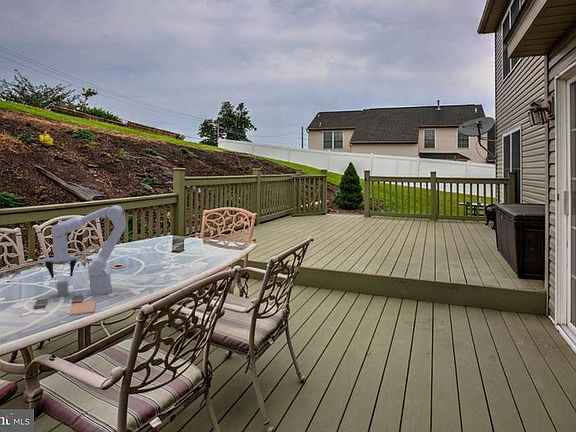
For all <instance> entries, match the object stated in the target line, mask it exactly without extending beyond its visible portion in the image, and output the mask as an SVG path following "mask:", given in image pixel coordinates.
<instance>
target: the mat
mask: <svg viewBox="0 0 576 432" xmlns="http://www.w3.org/2000/svg"><path fill="white" fill-rule="evenodd" d="M96 303H97V301H96V300H91V301H84V302H82V303H74V304H73V305H72V304H71V309H70V312H69V316H70V317H71V316H79V315H85V314H93V313H95V311H96V305H97V304H96Z"/></svg>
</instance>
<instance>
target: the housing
mask: <svg viewBox="0 0 576 432" xmlns="http://www.w3.org/2000/svg"><path fill="white" fill-rule="evenodd" d="M83 301H84V294H74V295H73V297H72V299H71V306H72V305H73V304H74V303H82V302H83ZM48 303H49V298H47V297H46V298H38V299H36V301H35V302H34V304H33V310H39V309H45V308H46V307H47V304H48Z"/></svg>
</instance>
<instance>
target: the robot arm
mask: <svg viewBox="0 0 576 432" xmlns="http://www.w3.org/2000/svg"><path fill="white" fill-rule="evenodd" d="M100 218H103V219H107V218H108V219H109V220H110V222H112V223H111V224H113V229H112V231H111V233H110V235H109V236H108V238H107V240H106V241H105V243H104V245H103V247H102V248H101V251H100V252H99V254H98V255H97V257H96V259H95V260H93V262H92V263H91V264H90V265H89V267H88V269H87V270H88V274H89V292H88V296H98V295H106V294H112V293H111V292H112V288H113V287H112V282H111V281H112V280H111V279H112V278H111V273H107V271H105V269H106V267H107V262H108V259H109V258H110V256H111V254H112V253H113V251H114V249H115V247H116V245H117V243H118V242H119V240H120V238H121V237H122V235H123V233H124V231H125V229H126V227H127V223H126V213H125V211H124V209H123V207H122V206H121V205H118V204H116V205H115V204H114V205H111V207H110V206H108V207H104V208H101V209H98V210H96V211H93V212H91V213H88V214H87V215H84V216H81V217H80V216H78V215H77V216H75V215H74V216H71V217H70V218H69V219H66V220H60V222H59V223H55V225H52V227H51V229H50V233H51V235H52V246H53V248H52V249H53V257H47V258H43V259H42V265H45V268H46V270H47V271H48V272H49V276H50V278H51V279H54V277H55V275H54V274H55V273H54V263H62V262H63V263H65V262H69V266H70V267H69V268H70V272H69V273H70V274H69V275H70V277H73V274H74V269H75V266H76V264H77V262H79V261H80V256H79V255H78V256H69V248H68V247H69V246H68V234H67V233H71V232H74V231H77V230H78V229H81V228H83V227H84V225H85V224H86V223H89V222H92V221H95V220H98V219H100Z"/></svg>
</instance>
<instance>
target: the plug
mask: <svg viewBox="0 0 576 432" xmlns="http://www.w3.org/2000/svg"><path fill="white" fill-rule="evenodd" d="M56 288H57V289H56V290H57V297H65V296H68V295H69V293H70V292H69V281H68V280H64V281H58V282H57V284H56Z"/></svg>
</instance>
